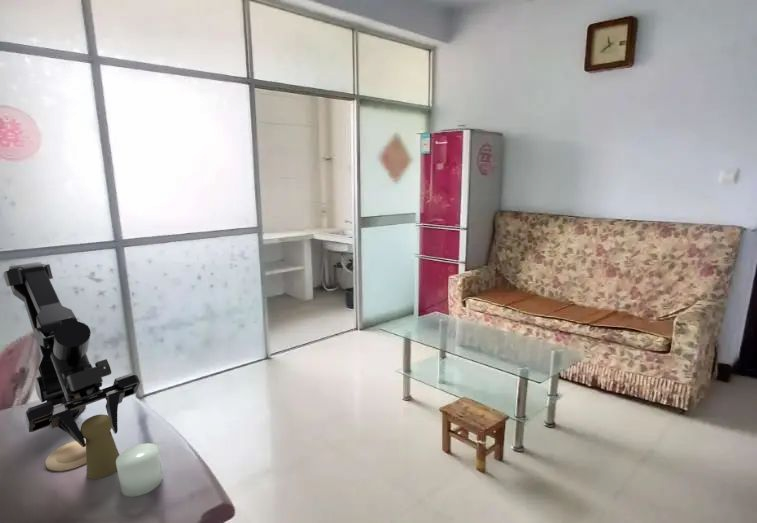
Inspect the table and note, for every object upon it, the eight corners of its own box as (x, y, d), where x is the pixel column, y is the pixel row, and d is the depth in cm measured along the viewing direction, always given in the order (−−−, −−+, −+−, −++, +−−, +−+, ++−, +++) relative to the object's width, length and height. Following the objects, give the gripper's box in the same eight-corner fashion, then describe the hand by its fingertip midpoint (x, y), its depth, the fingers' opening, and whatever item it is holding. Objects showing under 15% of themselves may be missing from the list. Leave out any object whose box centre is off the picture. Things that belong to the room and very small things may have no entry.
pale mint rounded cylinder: (129, 473, 85) (124, 446, 83) (167, 468, 86) (163, 441, 85) (114, 499, 78) (109, 470, 77) (156, 493, 79) (151, 464, 78)
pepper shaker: (105, 480, 83) (95, 429, 80) (78, 477, 84) (68, 426, 82) (129, 459, 89) (120, 411, 86) (103, 456, 90) (94, 408, 87)
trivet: (62, 443, 95) (61, 440, 95) (111, 437, 96) (111, 434, 96) (35, 474, 85) (34, 471, 85) (90, 467, 87) (90, 464, 87)
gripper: (15, 369, 77) (42, 449, 72) (129, 336, 90) (158, 402, 85) (16, 394, 84) (41, 469, 79) (122, 361, 97) (148, 423, 92)
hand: (100, 439), depth 84 cm, fingers closed on pepper shaker, 5 cm apart
